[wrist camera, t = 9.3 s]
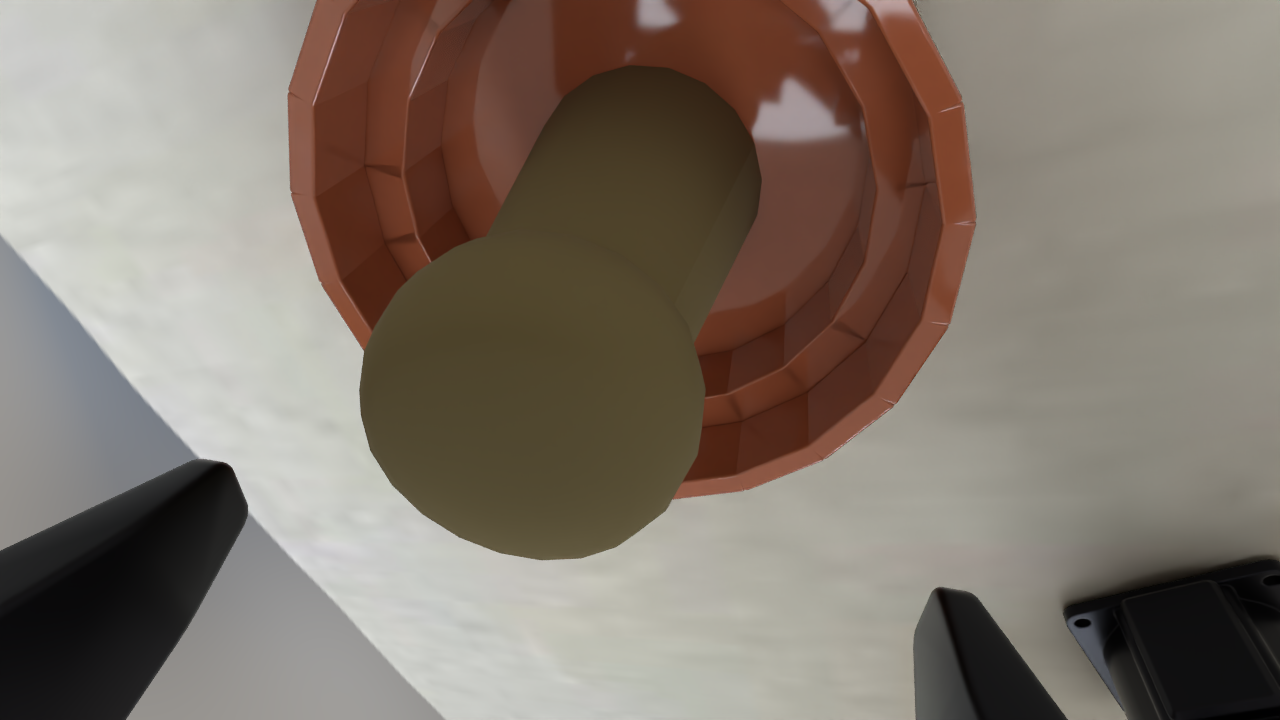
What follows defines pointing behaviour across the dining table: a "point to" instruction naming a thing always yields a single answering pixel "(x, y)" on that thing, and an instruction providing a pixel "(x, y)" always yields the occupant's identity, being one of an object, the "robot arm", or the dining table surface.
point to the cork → (569, 326)
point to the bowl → (789, 198)
